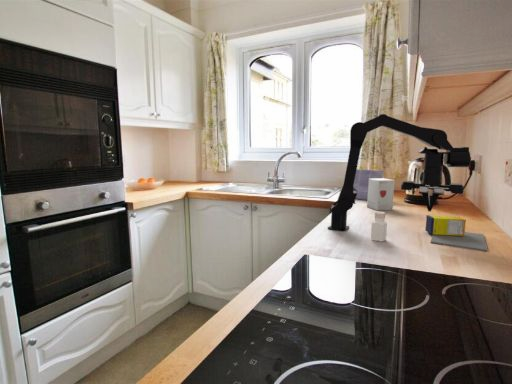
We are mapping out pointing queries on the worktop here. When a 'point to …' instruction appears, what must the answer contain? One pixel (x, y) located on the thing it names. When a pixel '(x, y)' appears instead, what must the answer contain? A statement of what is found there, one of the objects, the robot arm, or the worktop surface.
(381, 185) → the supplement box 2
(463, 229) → the supplement box
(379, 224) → the pepper shaker
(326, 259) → the worktop surface
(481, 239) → the rubber mat
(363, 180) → the cake pan box
